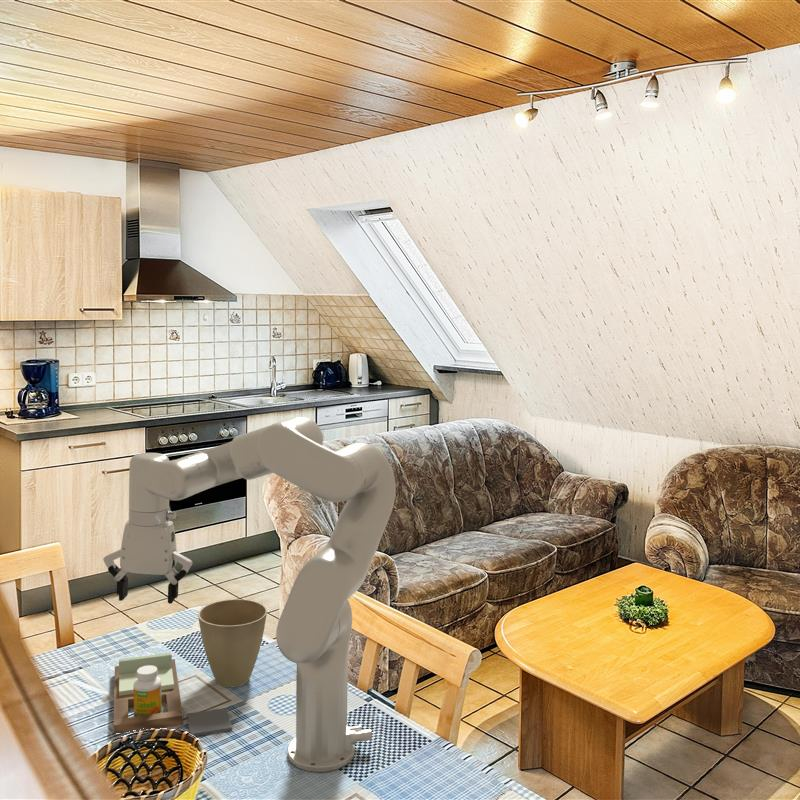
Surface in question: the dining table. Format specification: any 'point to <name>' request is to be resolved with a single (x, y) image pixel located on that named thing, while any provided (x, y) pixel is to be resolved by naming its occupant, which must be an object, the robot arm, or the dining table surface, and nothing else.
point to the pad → (209, 722)
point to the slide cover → (131, 666)
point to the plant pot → (232, 638)
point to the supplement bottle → (147, 692)
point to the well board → (152, 720)
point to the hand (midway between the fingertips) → (147, 599)
